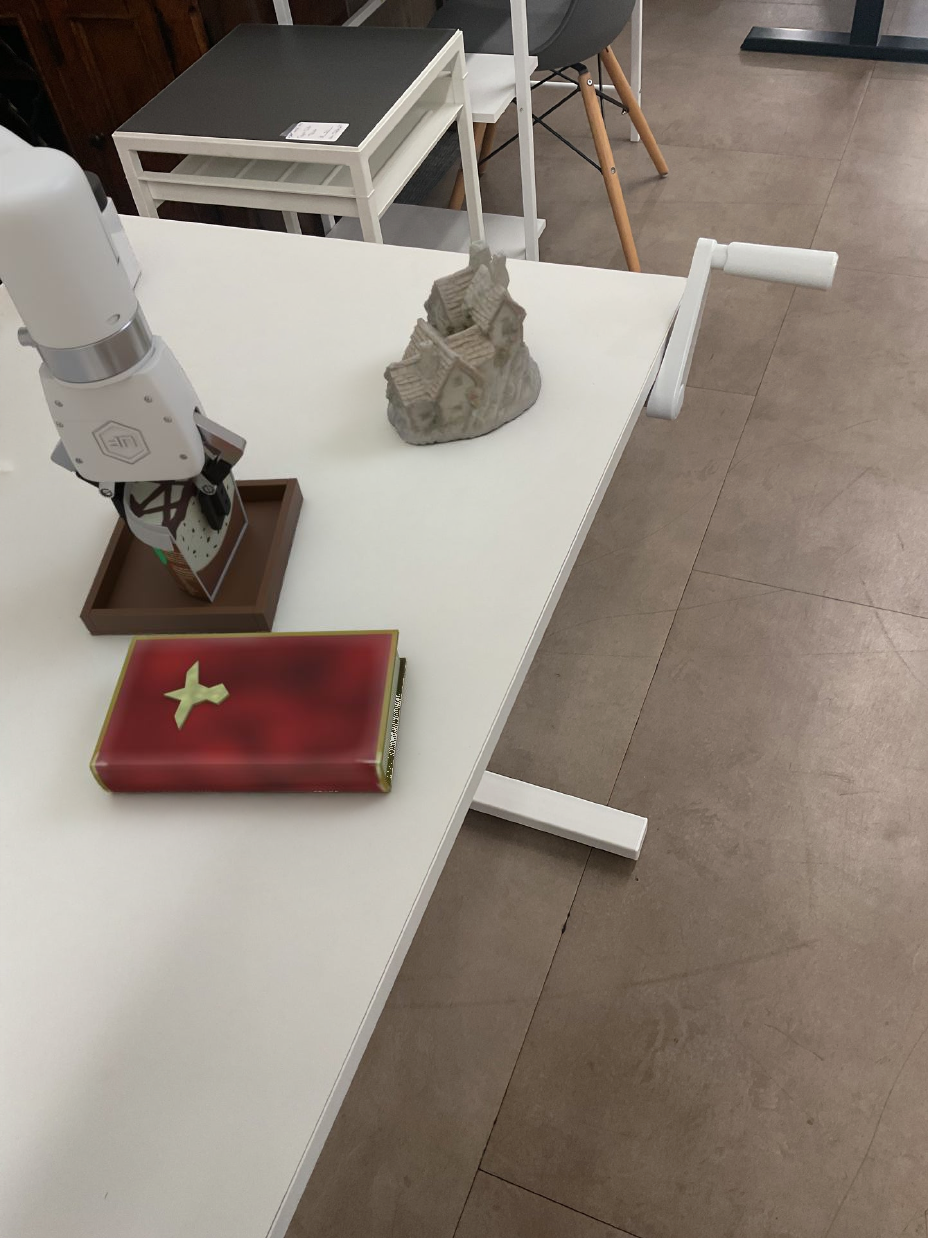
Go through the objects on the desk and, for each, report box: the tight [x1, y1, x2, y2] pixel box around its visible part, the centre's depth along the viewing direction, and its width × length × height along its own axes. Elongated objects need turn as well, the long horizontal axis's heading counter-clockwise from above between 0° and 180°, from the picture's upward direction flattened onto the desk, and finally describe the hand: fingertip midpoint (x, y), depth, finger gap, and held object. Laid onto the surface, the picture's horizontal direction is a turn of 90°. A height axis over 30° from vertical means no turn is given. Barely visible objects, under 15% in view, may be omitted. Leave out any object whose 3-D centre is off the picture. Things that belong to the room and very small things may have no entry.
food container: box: [123, 443, 248, 603], centre depth 84 cm, size 12×6×10 cm, turn 168°
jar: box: [83, 170, 142, 289], centre depth 115 cm, size 9×8×12 cm
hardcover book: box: [89, 628, 407, 794], centre depth 75 cm, size 12×21×4 cm, turn 86°
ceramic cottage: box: [383, 238, 542, 446], centre depth 94 cm, size 16×16×15 cm
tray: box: [79, 477, 304, 636], centre depth 87 cm, size 16×16×2 cm
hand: (179, 518), depth 84 cm, fingers closed on food container, 6 cm apart
